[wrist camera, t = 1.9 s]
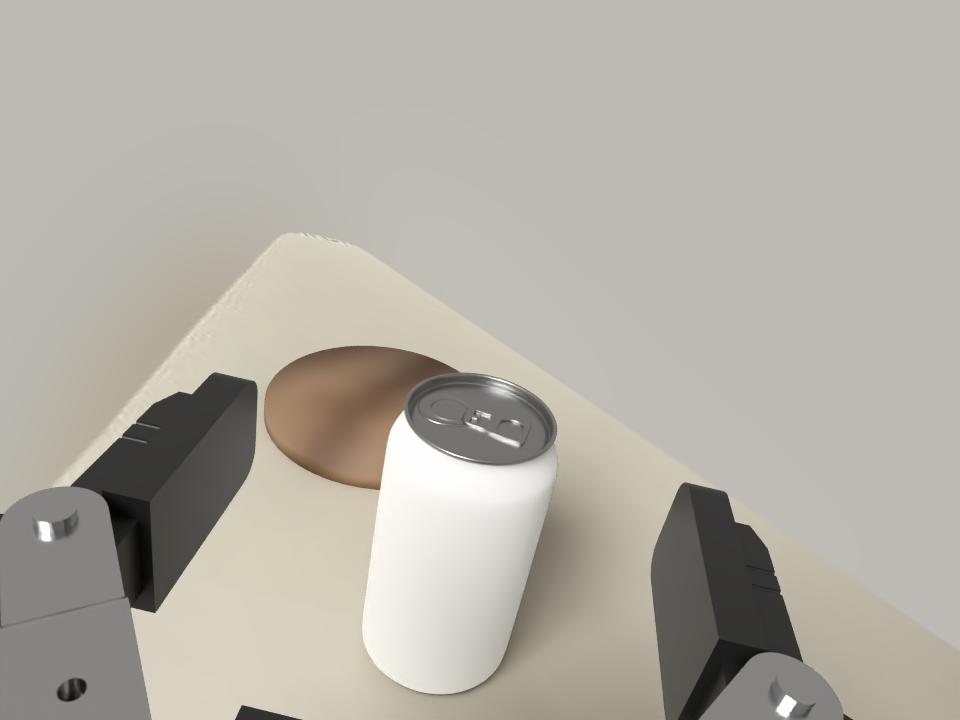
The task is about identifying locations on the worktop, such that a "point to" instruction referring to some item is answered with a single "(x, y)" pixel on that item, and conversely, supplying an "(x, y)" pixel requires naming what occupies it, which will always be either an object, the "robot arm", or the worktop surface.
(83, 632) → the robot arm
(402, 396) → the disc
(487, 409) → the can
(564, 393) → the worktop surface
